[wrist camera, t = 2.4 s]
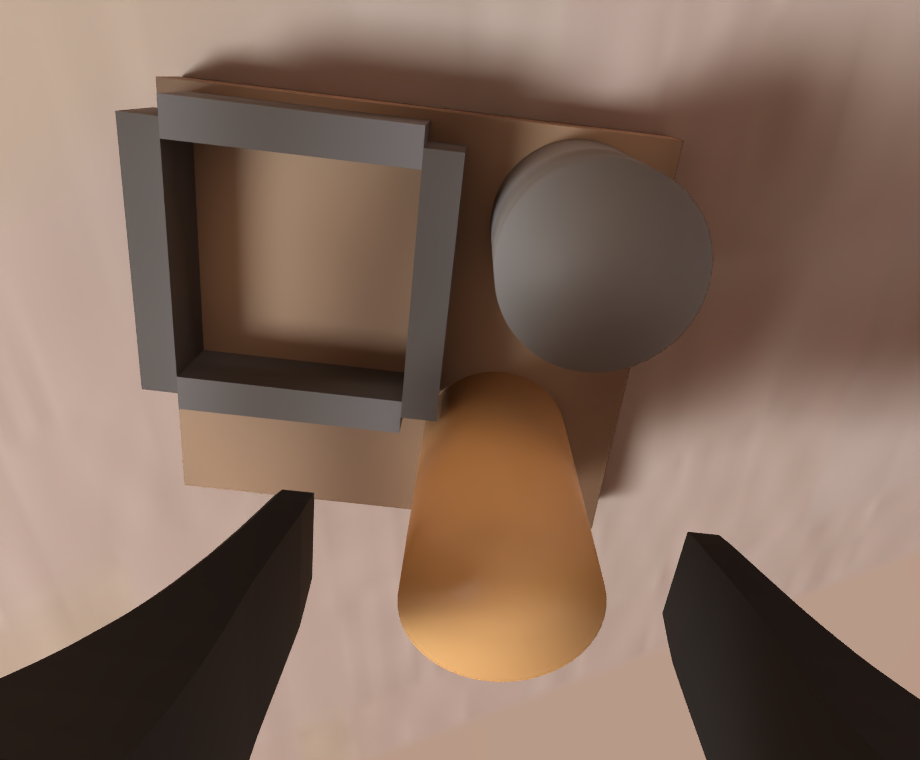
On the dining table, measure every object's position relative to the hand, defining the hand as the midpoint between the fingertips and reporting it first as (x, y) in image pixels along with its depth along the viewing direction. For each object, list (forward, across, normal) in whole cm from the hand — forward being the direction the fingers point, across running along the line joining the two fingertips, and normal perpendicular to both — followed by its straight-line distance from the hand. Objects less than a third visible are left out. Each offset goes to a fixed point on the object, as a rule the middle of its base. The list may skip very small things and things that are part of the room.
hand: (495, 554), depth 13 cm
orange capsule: (+5, 0, 0) cm, 5 cm away
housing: (+6, +2, -2) cm, 7 cm away
